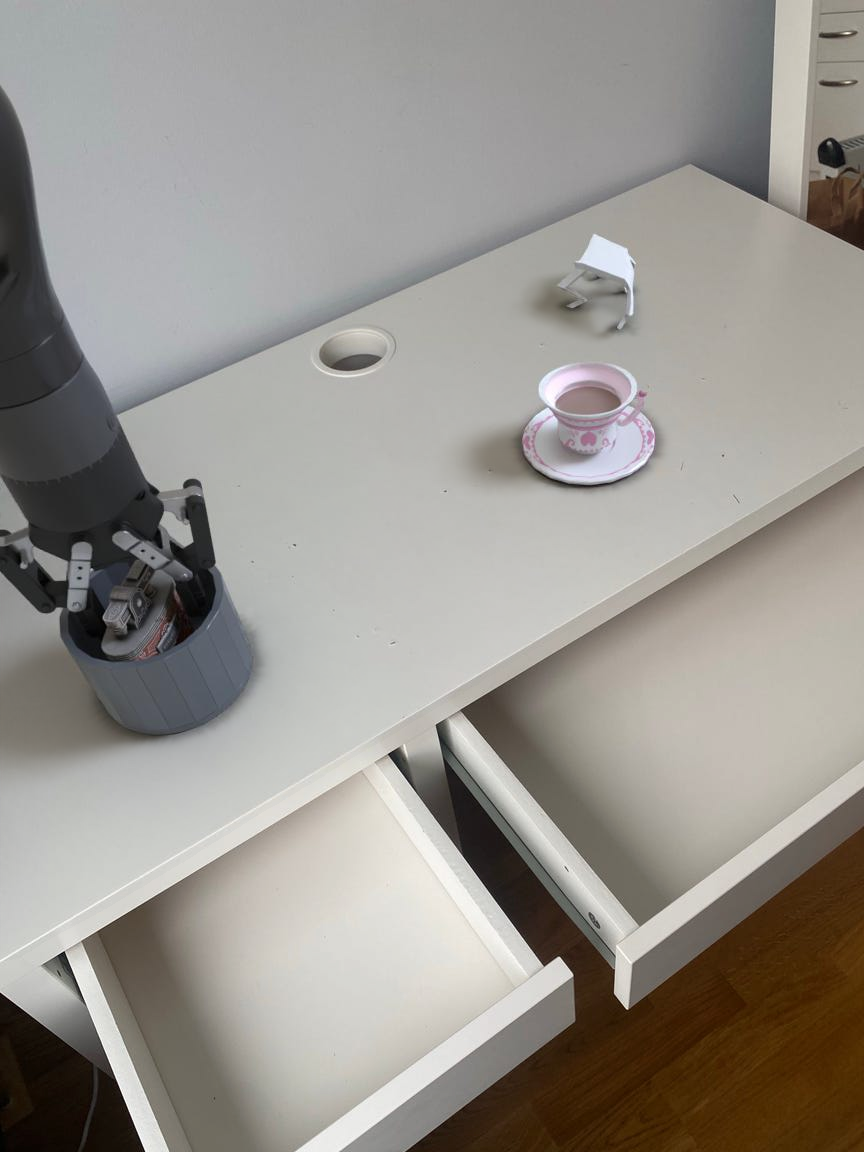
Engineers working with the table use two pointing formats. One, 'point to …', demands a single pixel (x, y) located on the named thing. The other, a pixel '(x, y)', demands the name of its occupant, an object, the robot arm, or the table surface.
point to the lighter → (144, 616)
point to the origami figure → (604, 270)
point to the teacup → (589, 425)
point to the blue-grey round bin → (167, 662)
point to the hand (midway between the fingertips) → (150, 619)
